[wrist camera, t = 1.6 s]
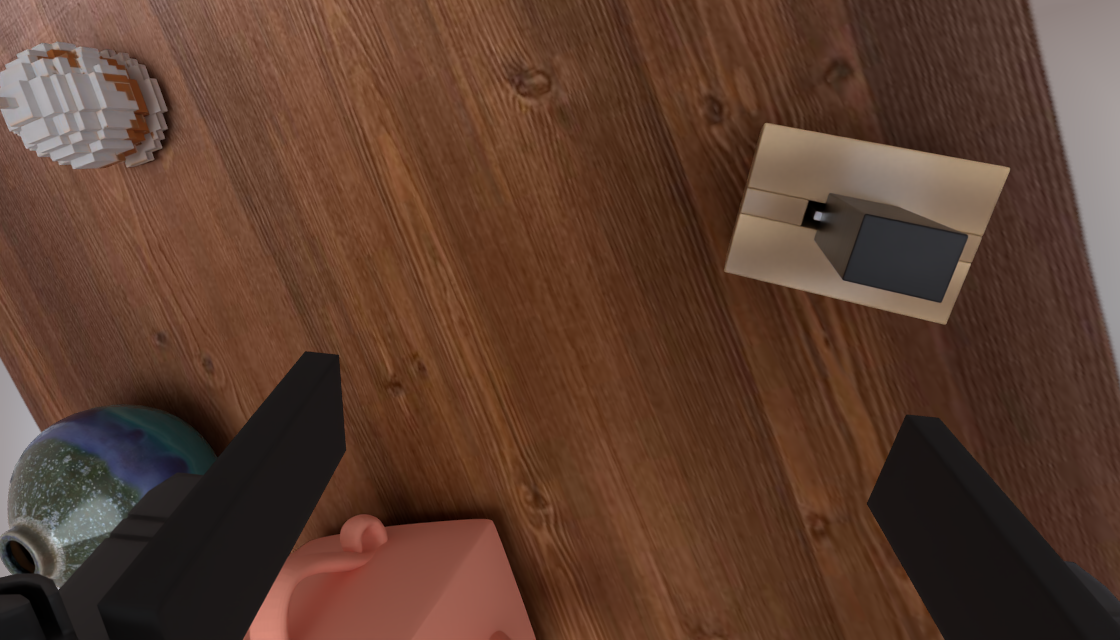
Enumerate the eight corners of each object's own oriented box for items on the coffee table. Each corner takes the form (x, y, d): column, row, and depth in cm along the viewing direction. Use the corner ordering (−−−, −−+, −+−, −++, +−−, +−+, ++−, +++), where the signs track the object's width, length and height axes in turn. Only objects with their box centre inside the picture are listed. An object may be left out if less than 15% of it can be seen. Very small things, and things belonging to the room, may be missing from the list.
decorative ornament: (148, 39, 43) (-136, -12, 29) (188, 150, 44) (-64, 151, 31) (75, 71, 45) (-218, 39, 32) (115, 175, 47) (-148, 187, 33)
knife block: (761, 126, 33) (765, 122, 27) (959, 163, 31) (1011, 167, 25) (727, 250, 35) (723, 271, 29) (909, 292, 33) (946, 325, 27)
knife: (808, 182, 33) (854, 211, 19) (877, 196, 33) (981, 237, 18) (796, 222, 34) (832, 278, 20) (863, 236, 33) (952, 306, 19)
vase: (92, 394, 55) (-98, 466, 42) (219, 371, 49) (45, 445, 37) (156, 544, 58) (-4, 652, 45) (282, 537, 52) (140, 656, 40)
